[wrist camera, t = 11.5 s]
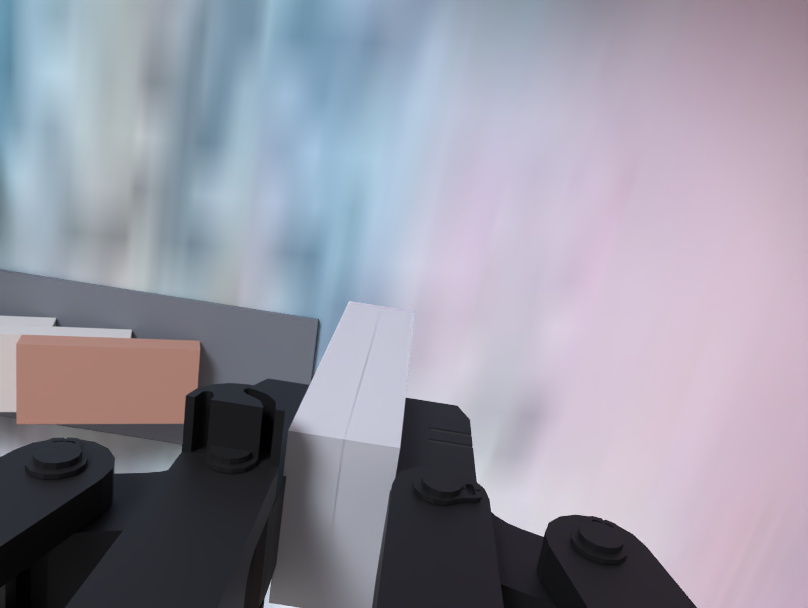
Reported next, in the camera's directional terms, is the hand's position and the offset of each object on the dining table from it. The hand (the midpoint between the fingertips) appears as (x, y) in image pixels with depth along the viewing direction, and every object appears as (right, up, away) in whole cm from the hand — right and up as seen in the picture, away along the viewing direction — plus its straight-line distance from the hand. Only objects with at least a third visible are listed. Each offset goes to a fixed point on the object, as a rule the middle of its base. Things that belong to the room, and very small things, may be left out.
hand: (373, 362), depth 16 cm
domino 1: (-12, -4, +28) cm, 31 cm away
